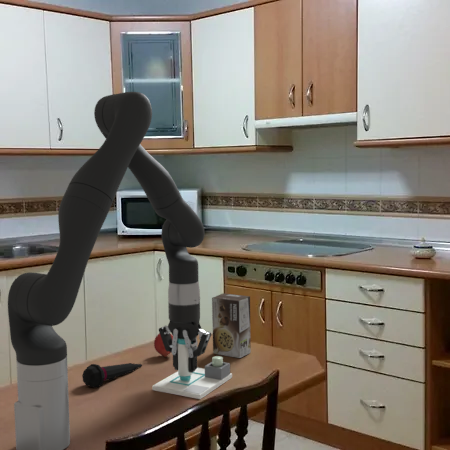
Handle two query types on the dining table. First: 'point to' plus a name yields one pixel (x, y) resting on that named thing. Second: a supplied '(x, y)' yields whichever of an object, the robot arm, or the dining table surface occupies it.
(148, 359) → the dining table surface
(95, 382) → the microphone
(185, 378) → the marker
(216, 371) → the button housing
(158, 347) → the onion
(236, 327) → the coffee box
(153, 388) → the white flat rectangular panel
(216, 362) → the button
